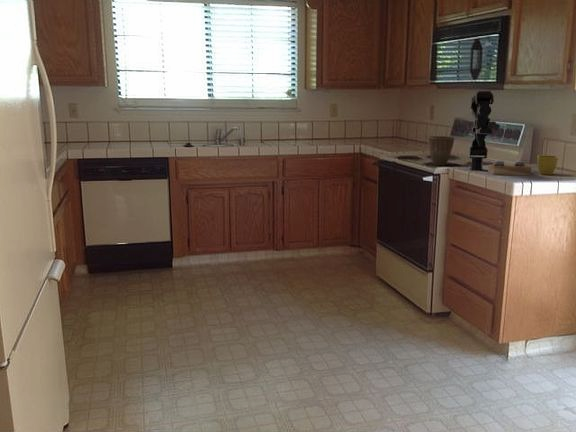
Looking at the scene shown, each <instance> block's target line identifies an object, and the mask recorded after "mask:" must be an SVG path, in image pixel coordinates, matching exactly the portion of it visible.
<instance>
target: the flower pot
mask: <svg viewBox="0 0 576 432" xmlns="http://www.w3.org/2000/svg"><path fill="white" fill-rule="evenodd" d="M557 163H558V156H557V155H546V154H545V155H541V154H539V155H538V154H537V169H538V172H539V173H540V175H549V176H550V175H553V174H554V172H555V170H556V168H557Z"/></svg>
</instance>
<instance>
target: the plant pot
mask: <svg viewBox="0 0 576 432" xmlns="http://www.w3.org/2000/svg"><path fill="white" fill-rule="evenodd" d="M427 140H428V141H427V142H428V148H429V154H430V158H431V161H432V162H431V163H432V164H433V165H435V166H446V165H447V163H448V161H449V159H450V156H451V153H452V150H453V146H454V142H455V137H454V136H445V135H444V136H440V135H439V136H437V135H434V136H428V137H427Z"/></svg>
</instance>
